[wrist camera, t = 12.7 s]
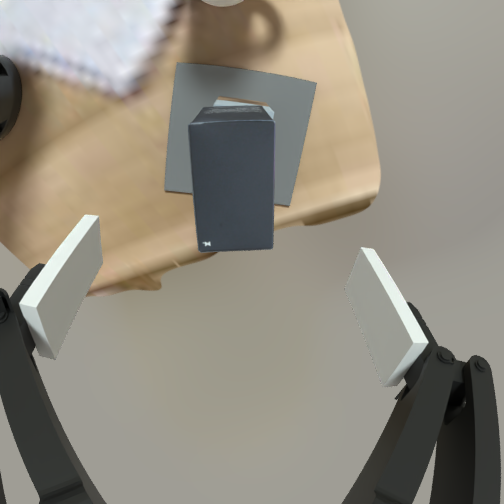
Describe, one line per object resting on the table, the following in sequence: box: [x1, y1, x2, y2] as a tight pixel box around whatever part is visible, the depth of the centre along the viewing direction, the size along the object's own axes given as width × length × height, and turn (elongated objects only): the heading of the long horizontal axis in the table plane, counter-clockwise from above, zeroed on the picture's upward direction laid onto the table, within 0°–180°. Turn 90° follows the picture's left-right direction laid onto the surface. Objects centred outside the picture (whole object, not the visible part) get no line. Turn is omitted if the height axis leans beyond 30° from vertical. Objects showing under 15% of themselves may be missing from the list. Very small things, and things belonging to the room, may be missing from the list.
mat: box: [164, 62, 317, 206], centre depth 41 cm, size 18×18×1 cm
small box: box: [188, 105, 275, 253], centre depth 28 cm, size 11×6×10 cm, turn 1°
